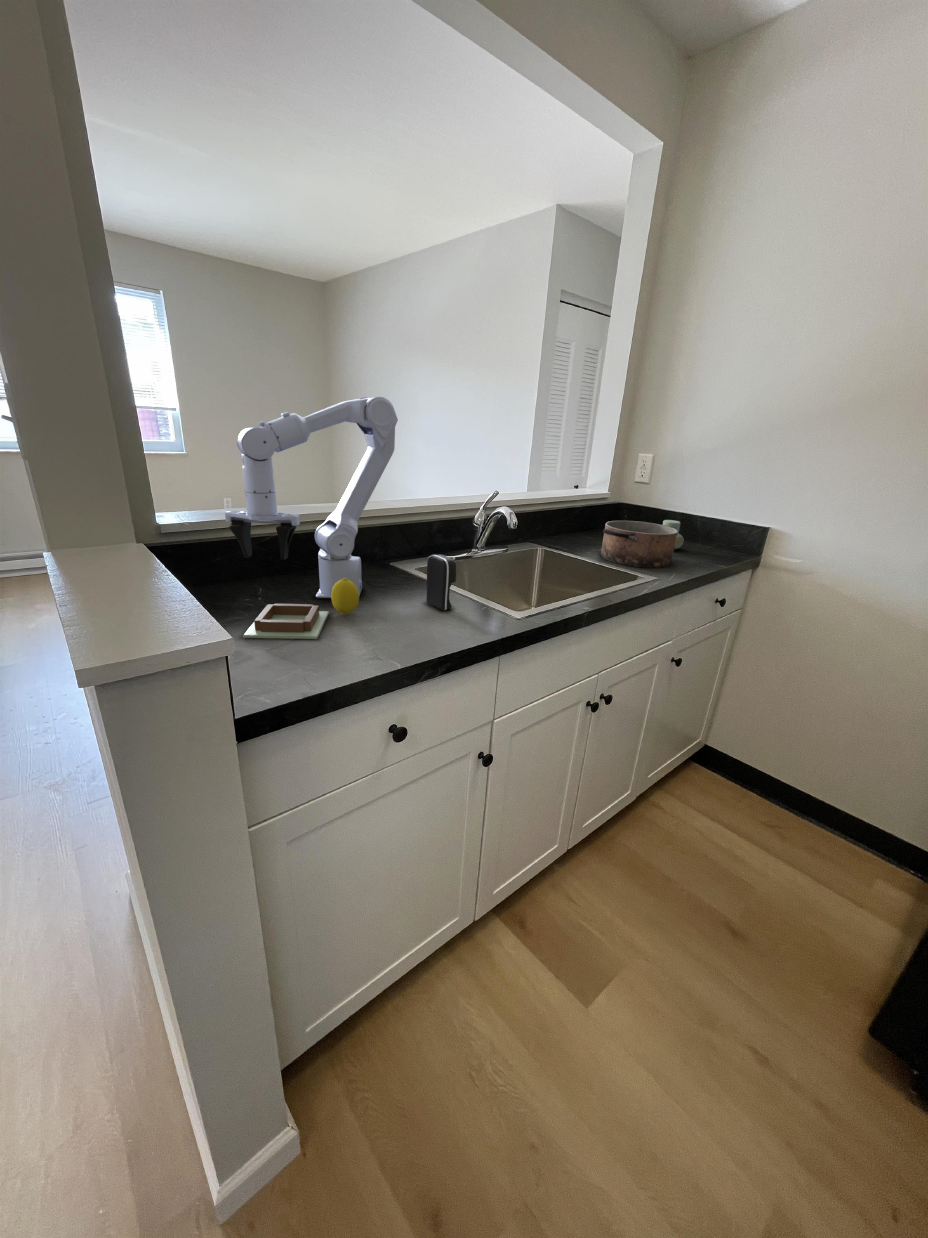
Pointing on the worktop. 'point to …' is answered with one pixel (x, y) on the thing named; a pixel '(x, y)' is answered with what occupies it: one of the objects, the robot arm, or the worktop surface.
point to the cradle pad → (288, 622)
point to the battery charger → (440, 580)
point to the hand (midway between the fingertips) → (266, 557)
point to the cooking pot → (638, 543)
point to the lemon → (345, 596)
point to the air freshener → (679, 538)
